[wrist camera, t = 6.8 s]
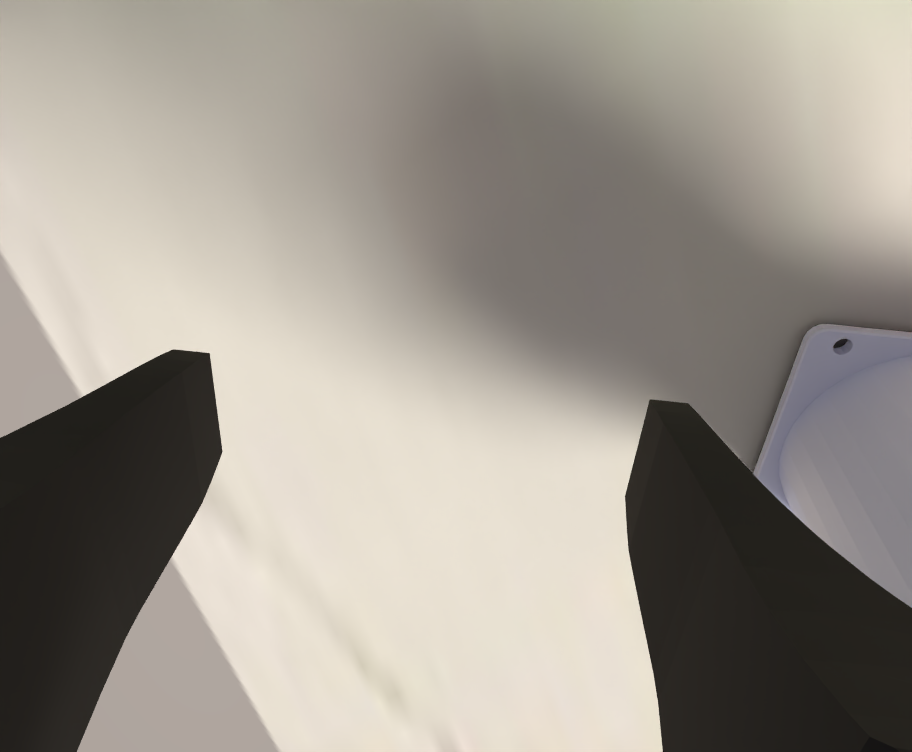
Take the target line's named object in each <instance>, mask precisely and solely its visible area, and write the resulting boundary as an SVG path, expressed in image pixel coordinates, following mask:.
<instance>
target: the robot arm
mask: <svg viewBox="0 0 912 752" xmlns="http://www.w3.org/2000/svg"><path fill="white" fill-rule="evenodd" d="M840 339H847V342H846V343H845V345H843V346H841V347H839V348H833V346H834V344H835V343H836V342H837V341H839V340H840ZM221 454H222V445H221V437H220V430H219V422H218V414H217V407H216V399H215V391H214V384H213V376H212V369H211V361H210V353H202V352H192V351H183V350H171V351H169V352H167V353H164V354H162V355H160V356H158V357H156V358H154V359H152V360H150V361H148V362H146V363H144V364H142V365H141V366H139V367H137V368H135V369H133V370H131V371H129V372H128V373H126V374H124V375H122V376H120V377H118V378H117V379H115V380H113V381H111V382H109V383H107V384H106V385H104V386H102V387H100V388H98V389H96V390H95V391H93V392H91V393H89V394H87V395H85V396H83V397H82V398H80V399H78V400H76V401H74V402H72V403H70V404H69V405H67V406H65V407H63V408H61V409H59V410H57V411H55V412H52V413H50V414H49V415H47V416H44V417H42V418H40V419H38V420H36V421H35V422H32V423H30V424H28V425H26V426H24V427H22V428H20V429H18V430H16V431H14V432H12V433H10V434H8V435H6V436H3V437H1V438H0V752H77V749H78V747H79V745H80V742H81V740H82V738H83V735H84V733H85V730H86V728H87V726H88V723H89V721H90V718H91V716H92V713H93V711H94V709H95V706H96V704H97V701H98V699H99V697H100V694H101V692H102V690H103V687H104V685H105V683H106V681H107V678H108V676H109V674H110V672H111V670H112V667H113V665H114V663H115V660H116V658H117V656H118V654H119V652H120V649H121V647H122V645H123V643H124V640H125V638H126V636H127V634H128V633H129V630H130V629H131V626H132V625H133V623H134V621H135V619H136V617H137V615H138V613H139V612H140V610H141V608H142V606H143V605H144V603H145V601H146V600H147V598H148V596H149V594H150V593H151V591H152V589H153V588H154V586H155V584H156V582H157V581H158V579H159V577H160V575H161V573H162V572H163V570H164V568H165V567H166V565H167V564H168V562H169V560H170V558H171V557H172V555H173V553H174V552H175V550H176V548H177V546H178V545H179V543H180V541H181V539H182V538H183V536H184V534H185V532H186V531H187V529H188V527H189V525H190V524H191V522H192V520H193V518H194V517H195V515H196V513H197V511H198V509H199V508H200V506H201V504H202V502H203V500H204V497H205V495H206V493H207V490H208V488H209V485H210V483H211V481H212V478H213V475H214V473H215V470H216V467H217V465H218V462H219V460H220V457H221ZM625 502H626V520H627V535H628V548H629V555H630V560H631V565H632V570H633V575H634V580H635V585H636V590H637V595H638V600H639V605H640V610H641V615H642V620H643V624H644V629H645V634H646V639H647V644H648V649H649V654H650V659H651V663H652V668H653V673H654V679H655V685H656V692H657V698H658V705H659V715H660V726H661V736H662V746H663V752H912V332H903V331H893V330H883V329H873V328H863V327H853V326H843V325H833V324H819V325H817V326H814V327H812V328H811V329H810V330H809V331H807V333H806V334H805V336H804V338H803V340H802V343H801V346H800V348H799V351H798V354H797V356H796V359H795V362H794V364H793V367H792V370H791V373H790V375H789V378H788V381H787V383H786V386H785V389H784V391H783V394H782V397H781V400H780V402H779V405H778V408H777V410H776V413H775V416H774V418H773V421H772V424H771V427H770V429H769V432H768V435H767V437H766V440H765V443H764V445H763V448H762V451H761V453H760V456H759V459H758V462H757V464H756V467H755V470H754V472H753V473H752V472H751V471H750V470H749V469H748V468H747V467H746V466H745V465H744V464H743V463H742V462H741V461H740V460H739V459H738V457H737V456H736V455H735V454H734V453H733V452H732V451H731V450H730V449H729V448H728V446H727V445H726V444H725V443H724V442H723V441H722V440H721V439H720V438H719V437H718V435H717V434H716V433H715V432H714V431H713V430H712V429H711V428H710V426H709V425H708V424H707V423H706V422H705V421H704V420H703V419H702V418H701V416H700V415H699V414H698V413H697V412H696V411H695V410H694V409H693V408H692V407H691V406H690V405H689V404H688V403H679V402H669V401H660V400H650V401H649V405H648V409H647V413H646V416H645V420H644V424H643V428H642V432H641V436H640V440H639V444H638V448H637V452H636V456H635V460H634V464H633V467H632V471H631V475H630V479H629V483H628V487H627V491H626V495H625Z"/></svg>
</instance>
